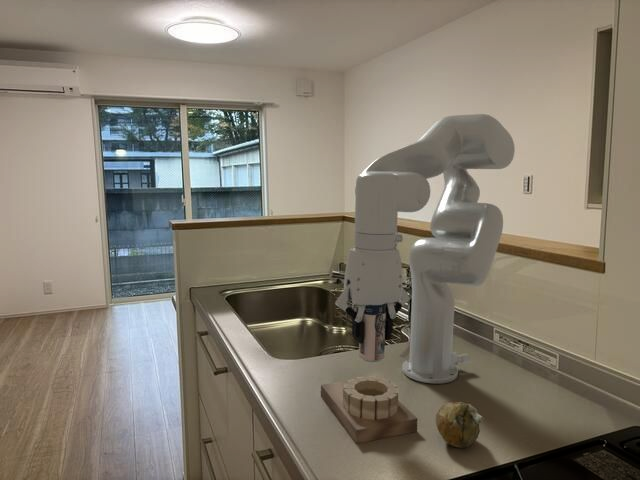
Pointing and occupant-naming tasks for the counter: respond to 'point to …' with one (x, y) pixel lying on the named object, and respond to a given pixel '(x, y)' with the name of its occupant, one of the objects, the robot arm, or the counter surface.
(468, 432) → the onion
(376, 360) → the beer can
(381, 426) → the board
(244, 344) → the counter surface
